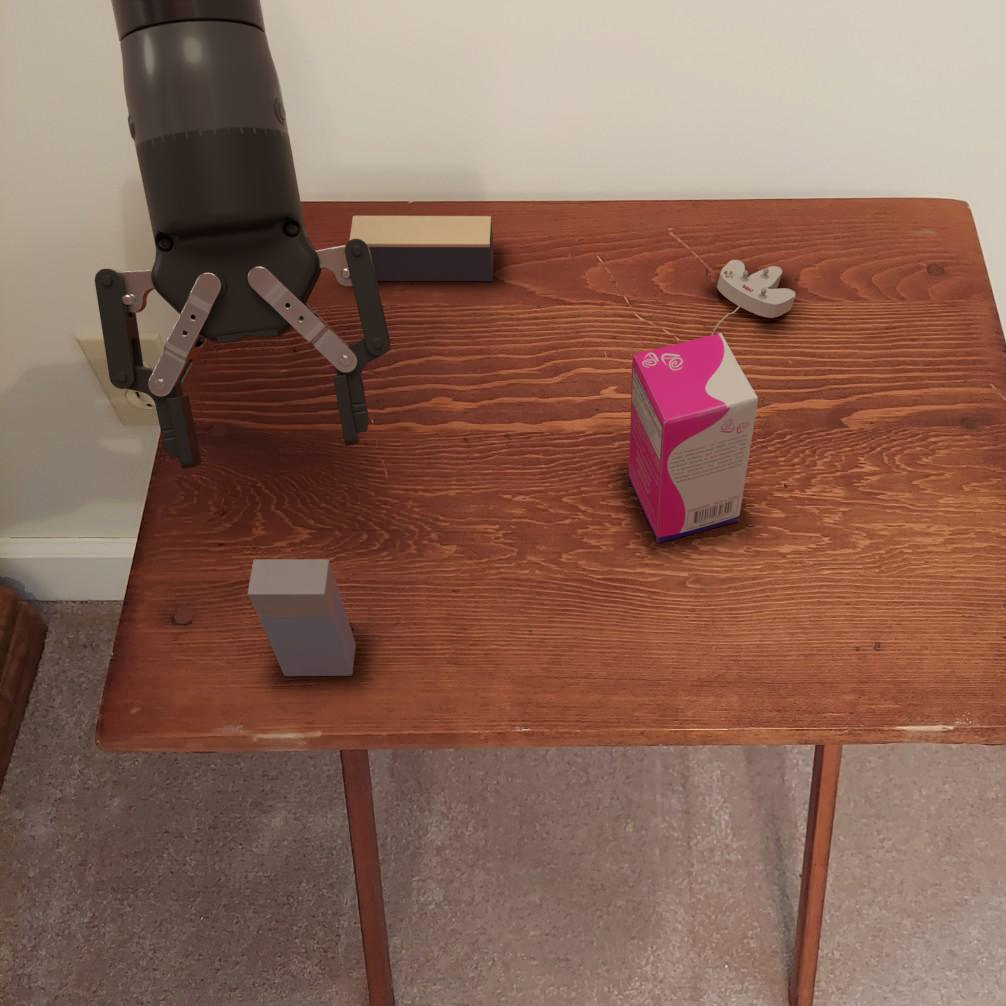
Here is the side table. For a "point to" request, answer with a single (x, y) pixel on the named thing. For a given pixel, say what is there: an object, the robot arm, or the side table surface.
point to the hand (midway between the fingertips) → (272, 455)
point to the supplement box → (690, 436)
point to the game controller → (755, 290)
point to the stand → (428, 247)
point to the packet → (303, 616)
